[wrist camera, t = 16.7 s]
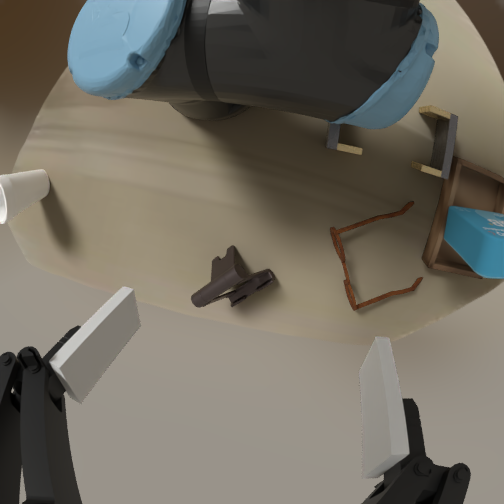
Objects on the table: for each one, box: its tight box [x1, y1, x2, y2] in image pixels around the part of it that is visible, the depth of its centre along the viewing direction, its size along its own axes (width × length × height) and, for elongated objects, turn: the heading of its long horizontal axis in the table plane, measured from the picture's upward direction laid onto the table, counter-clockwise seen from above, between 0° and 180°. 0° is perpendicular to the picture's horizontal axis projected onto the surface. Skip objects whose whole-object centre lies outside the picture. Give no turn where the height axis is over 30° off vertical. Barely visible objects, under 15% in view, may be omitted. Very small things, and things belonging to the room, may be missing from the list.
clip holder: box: [325, 105, 458, 180], centre depth 28 cm, size 9×16×4 cm, turn 84°
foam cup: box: [0, 169, 50, 224], centre depth 40 cm, size 10×9×13 cm
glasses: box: [330, 202, 423, 311], centre depth 36 cm, size 13×13×5 cm
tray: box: [422, 156, 504, 279], centre depth 30 cm, size 16×12×3 cm
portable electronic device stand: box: [191, 245, 275, 307], centre depth 40 cm, size 9×8×8 cm
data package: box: [444, 206, 504, 279], centre depth 24 cm, size 12×4×12 cm, turn 92°
